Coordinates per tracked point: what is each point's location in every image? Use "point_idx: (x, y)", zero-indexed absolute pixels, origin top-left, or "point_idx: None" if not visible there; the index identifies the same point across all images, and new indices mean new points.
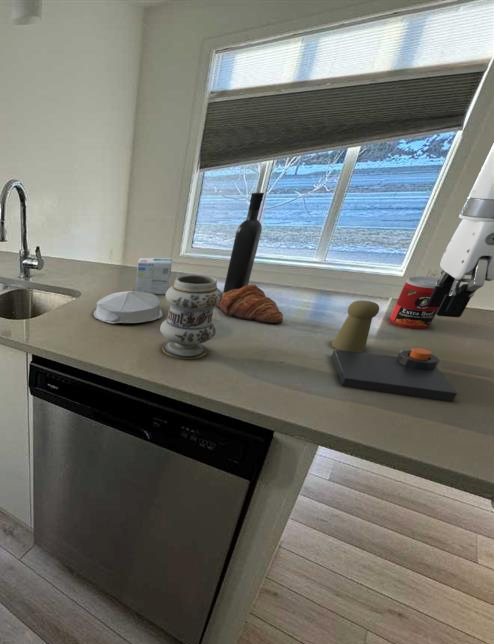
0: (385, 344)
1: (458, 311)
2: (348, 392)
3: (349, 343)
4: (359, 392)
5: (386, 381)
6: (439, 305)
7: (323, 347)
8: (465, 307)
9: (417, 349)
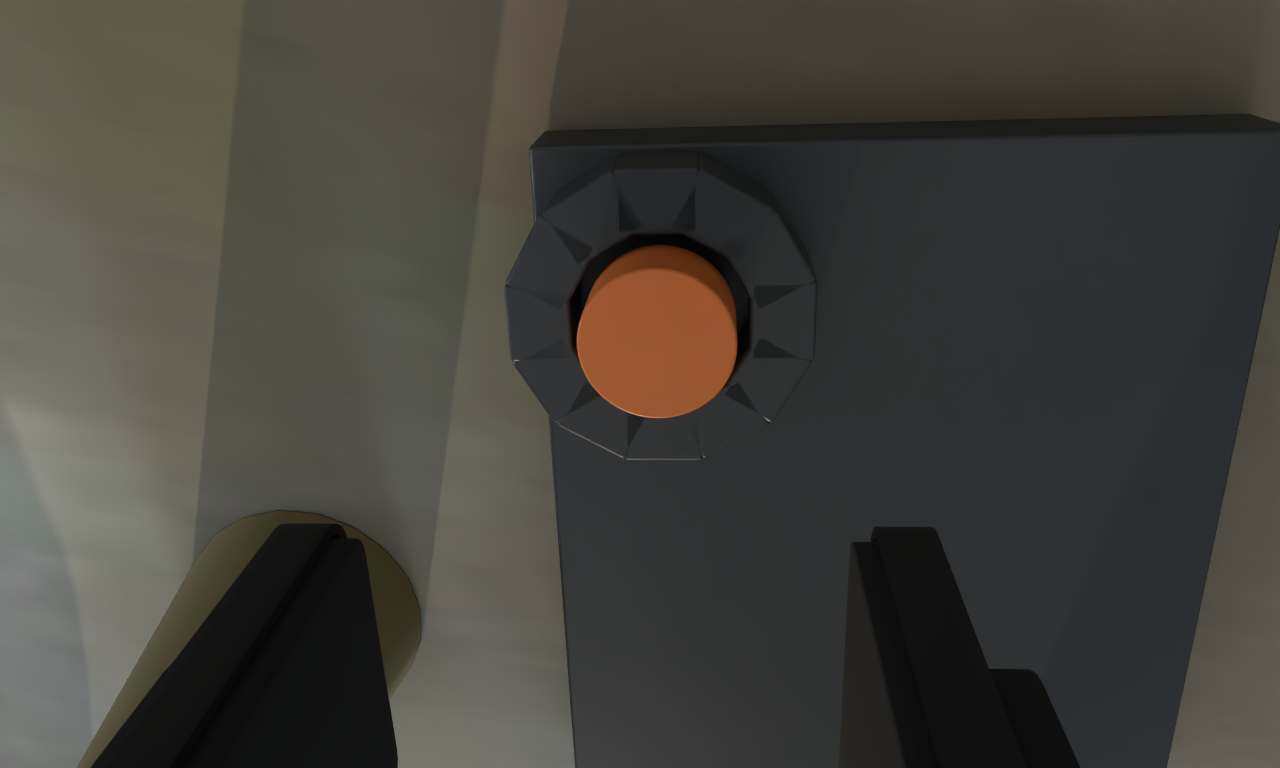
0: (85, 339)
1: (1039, 690)
2: (1227, 731)
3: (389, 685)
4: (1211, 672)
5: (1164, 583)
6: (374, 673)
7: (403, 760)
8: (980, 646)
9: (623, 374)
